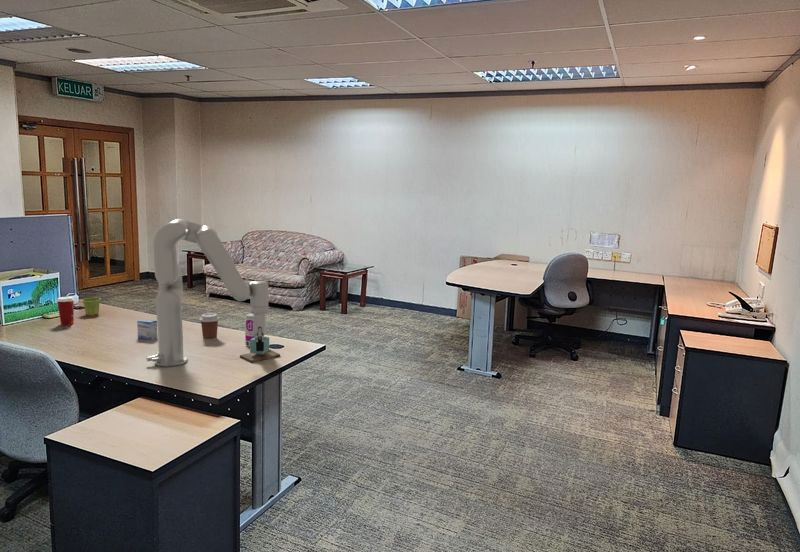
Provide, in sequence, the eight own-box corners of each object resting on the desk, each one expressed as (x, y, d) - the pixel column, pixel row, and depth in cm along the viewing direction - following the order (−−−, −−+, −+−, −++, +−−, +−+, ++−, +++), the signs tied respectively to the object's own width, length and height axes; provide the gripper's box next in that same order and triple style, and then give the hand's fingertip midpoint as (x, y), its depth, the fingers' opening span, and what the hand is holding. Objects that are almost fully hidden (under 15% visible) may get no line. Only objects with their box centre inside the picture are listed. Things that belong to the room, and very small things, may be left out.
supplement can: (258, 348, 248) (258, 317, 246) (242, 347, 250) (241, 315, 247) (266, 343, 256) (266, 313, 254) (250, 342, 258) (250, 311, 255)
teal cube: (250, 352, 234) (250, 339, 233) (257, 348, 239) (257, 335, 238) (262, 354, 232) (262, 340, 231) (269, 350, 238) (269, 337, 237)
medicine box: (137, 338, 258) (136, 320, 257) (143, 335, 263) (143, 318, 261) (151, 339, 257) (150, 322, 255) (157, 337, 261) (157, 320, 260)
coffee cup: (203, 342, 255) (202, 317, 253) (197, 337, 262) (196, 314, 260) (222, 339, 260) (221, 315, 258) (216, 335, 268) (215, 311, 266)
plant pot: (102, 315, 300) (101, 300, 298) (82, 317, 295) (81, 301, 294) (101, 311, 308) (100, 297, 306) (82, 313, 303) (81, 298, 302)
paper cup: (78, 323, 281) (77, 297, 279) (63, 326, 275) (61, 299, 272) (70, 321, 285) (69, 295, 283) (55, 324, 279) (53, 297, 276)
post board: (251, 362, 228) (251, 350, 227) (240, 357, 235) (239, 345, 234) (280, 356, 238) (280, 344, 237) (268, 351, 245) (268, 339, 244)
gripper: (250, 305, 240) (251, 342, 243) (250, 314, 223) (250, 354, 226) (268, 304, 242) (268, 342, 245) (268, 313, 225) (269, 353, 228)
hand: (259, 347), depth 235 cm, fingers closed on teal cube, 8 cm apart
